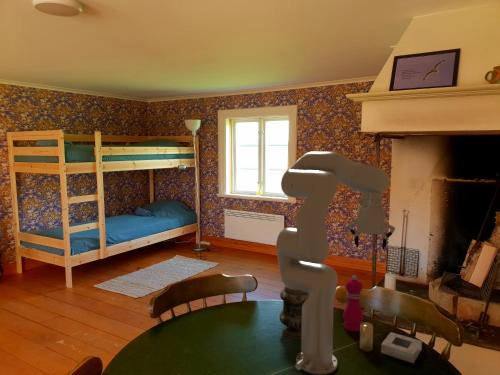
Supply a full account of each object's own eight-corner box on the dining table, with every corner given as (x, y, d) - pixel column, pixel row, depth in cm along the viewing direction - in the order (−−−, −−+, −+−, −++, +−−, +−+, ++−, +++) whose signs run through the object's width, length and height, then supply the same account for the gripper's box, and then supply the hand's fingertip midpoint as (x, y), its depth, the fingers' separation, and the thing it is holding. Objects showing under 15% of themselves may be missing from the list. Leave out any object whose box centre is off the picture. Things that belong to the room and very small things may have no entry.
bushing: (369, 352, 122) (370, 329, 121) (357, 348, 124) (358, 325, 123) (373, 347, 125) (374, 324, 124) (362, 343, 127) (362, 321, 126)
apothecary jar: (302, 344, 126) (302, 293, 125) (272, 334, 134) (273, 285, 132) (318, 330, 136) (319, 283, 134) (290, 321, 143) (290, 276, 141)
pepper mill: (365, 332, 135) (367, 278, 133) (345, 332, 135) (346, 278, 133) (360, 323, 142) (361, 272, 140) (340, 323, 142) (342, 272, 140)
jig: (413, 363, 115) (413, 354, 115) (381, 352, 121) (381, 344, 121) (421, 349, 123) (421, 341, 123) (390, 340, 129) (390, 332, 129)
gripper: (347, 203, 141) (346, 247, 143) (396, 206, 135) (394, 252, 137) (349, 201, 148) (348, 243, 150) (396, 203, 142) (394, 247, 144)
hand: (370, 247), depth 143 cm, fingers open, 9 cm apart
